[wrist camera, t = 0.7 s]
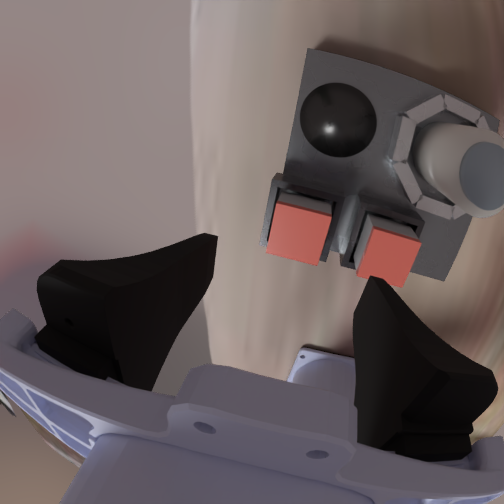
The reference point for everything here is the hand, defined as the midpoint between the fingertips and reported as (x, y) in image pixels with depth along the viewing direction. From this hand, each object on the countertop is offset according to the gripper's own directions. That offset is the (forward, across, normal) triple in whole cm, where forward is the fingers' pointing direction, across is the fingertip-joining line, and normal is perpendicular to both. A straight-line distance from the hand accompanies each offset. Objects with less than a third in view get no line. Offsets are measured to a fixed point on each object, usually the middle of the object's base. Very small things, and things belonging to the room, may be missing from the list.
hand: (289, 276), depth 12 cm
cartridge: (+8, -8, -6) cm, 13 cm away
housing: (+10, -5, -4) cm, 12 cm away
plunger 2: (+7, -5, 0) cm, 9 cm away
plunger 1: (+7, 0, 0) cm, 7 cm away
